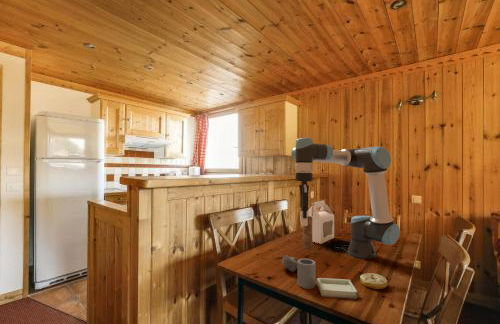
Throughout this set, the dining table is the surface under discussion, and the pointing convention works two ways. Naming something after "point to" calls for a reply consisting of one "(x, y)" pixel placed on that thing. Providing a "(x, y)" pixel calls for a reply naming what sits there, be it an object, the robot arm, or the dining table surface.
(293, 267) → the fossil
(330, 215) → the gable box
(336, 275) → the dining table surface
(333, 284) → the sage tray
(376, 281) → the decorated donut
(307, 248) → the walnut dowel
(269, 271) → the dining table surface
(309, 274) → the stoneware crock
